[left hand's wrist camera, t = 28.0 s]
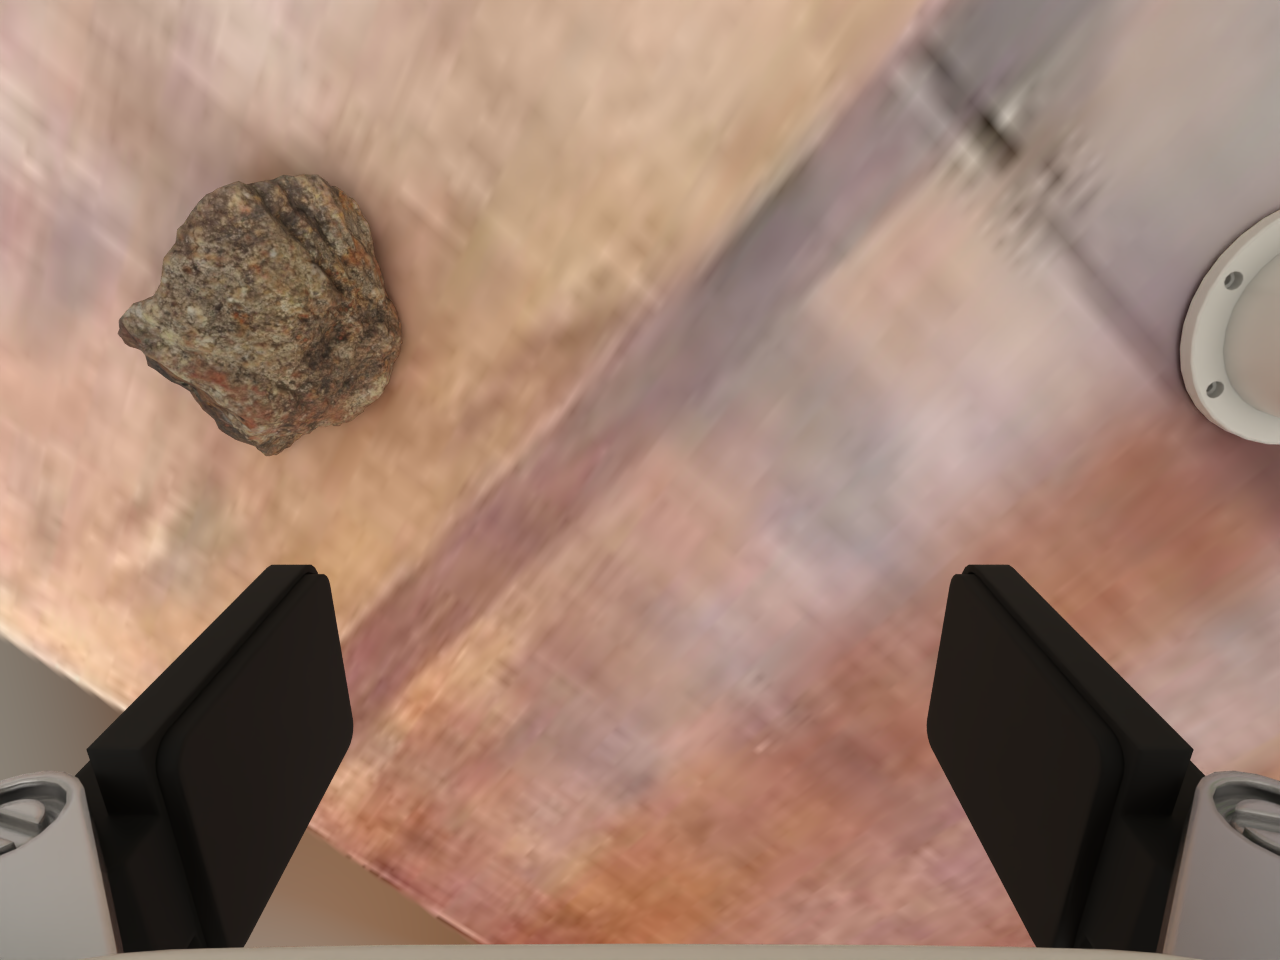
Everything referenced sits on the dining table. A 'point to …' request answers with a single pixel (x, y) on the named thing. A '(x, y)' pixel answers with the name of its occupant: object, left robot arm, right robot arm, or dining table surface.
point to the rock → (271, 311)
